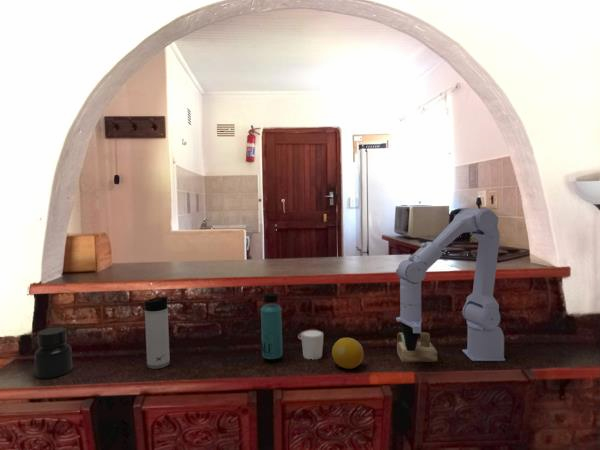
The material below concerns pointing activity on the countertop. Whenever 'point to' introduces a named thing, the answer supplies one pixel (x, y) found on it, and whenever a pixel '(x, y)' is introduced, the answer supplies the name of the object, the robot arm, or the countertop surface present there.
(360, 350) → the fruit
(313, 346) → the white mug
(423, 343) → the lid
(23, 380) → the countertop surface
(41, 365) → the ink bottle
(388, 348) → the countertop surface
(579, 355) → the countertop surface
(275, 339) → the beverage bottle
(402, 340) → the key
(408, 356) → the toolbox
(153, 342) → the travel mug
